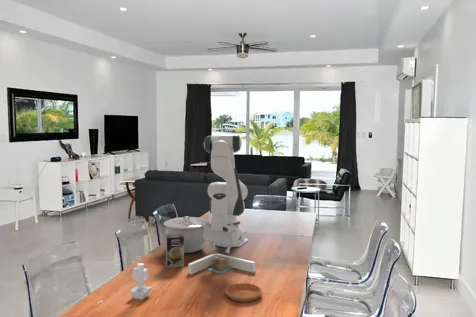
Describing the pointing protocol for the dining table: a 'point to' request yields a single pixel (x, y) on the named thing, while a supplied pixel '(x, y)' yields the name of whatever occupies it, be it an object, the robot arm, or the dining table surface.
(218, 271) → the pad
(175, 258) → the coffee box
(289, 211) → the dining table surface
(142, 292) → the figurine
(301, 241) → the dining table surface
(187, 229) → the chamber pot
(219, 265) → the cube
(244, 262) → the white l-shaped bracket
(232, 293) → the saucer
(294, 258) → the dining table surface
